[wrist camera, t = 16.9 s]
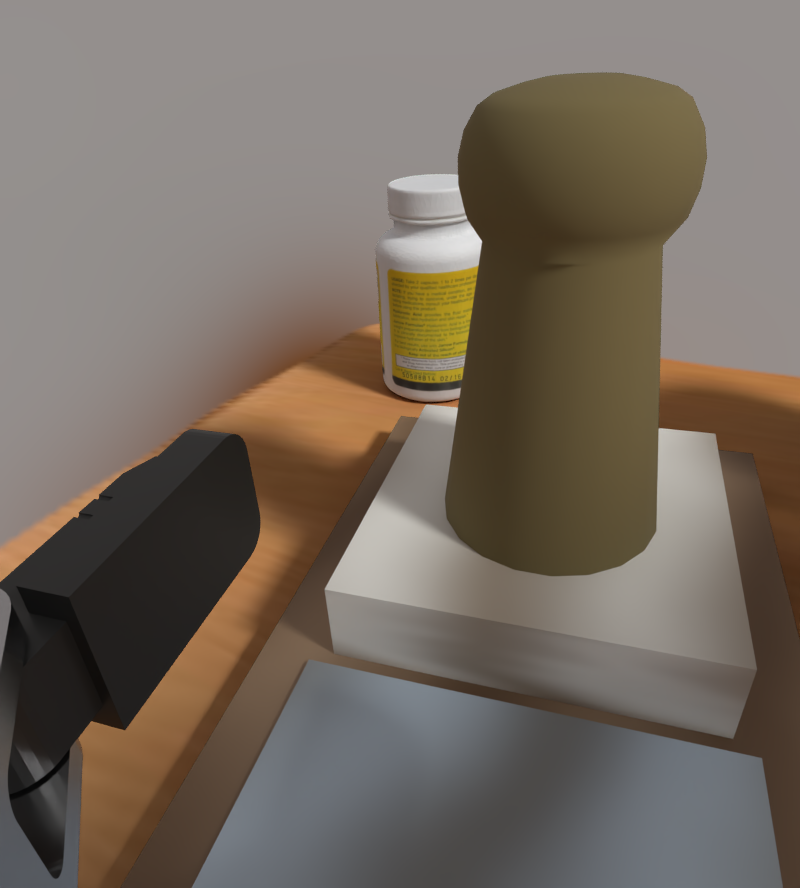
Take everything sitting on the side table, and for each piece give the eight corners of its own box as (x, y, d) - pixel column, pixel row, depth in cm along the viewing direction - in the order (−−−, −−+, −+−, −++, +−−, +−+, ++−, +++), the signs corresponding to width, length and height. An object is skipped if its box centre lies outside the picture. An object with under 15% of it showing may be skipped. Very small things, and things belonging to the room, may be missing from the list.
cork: (426, 461, 22) (414, 77, 16) (604, 439, 22) (653, 61, 17) (472, 592, 17) (478, 97, 11) (700, 558, 17) (821, 74, 12)
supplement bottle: (508, 389, 34) (516, 183, 28) (410, 415, 32) (401, 200, 27) (455, 351, 38) (455, 165, 33) (367, 372, 36) (351, 179, 31)
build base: (745, 479, 26) (767, 397, 24) (965, 1457, 8) (1110, 1438, 7) (402, 439, 30) (398, 366, 28) (57, 1055, 12) (-18, 971, 10)
